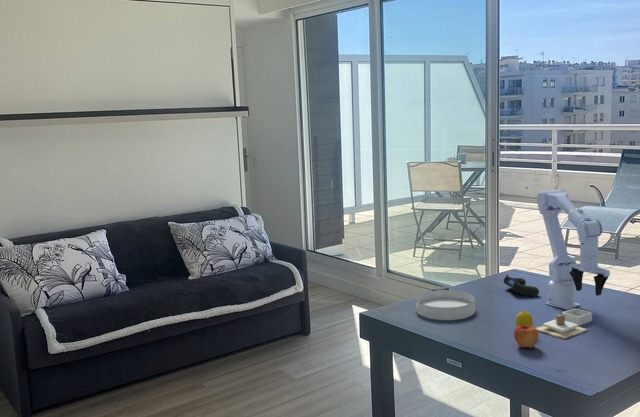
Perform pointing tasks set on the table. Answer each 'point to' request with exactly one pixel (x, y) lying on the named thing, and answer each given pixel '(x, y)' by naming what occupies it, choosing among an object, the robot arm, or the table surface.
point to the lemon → (524, 319)
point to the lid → (560, 324)
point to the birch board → (559, 334)
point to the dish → (445, 305)
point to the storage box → (577, 316)
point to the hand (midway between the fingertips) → (588, 292)
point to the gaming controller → (521, 286)
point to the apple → (526, 335)
